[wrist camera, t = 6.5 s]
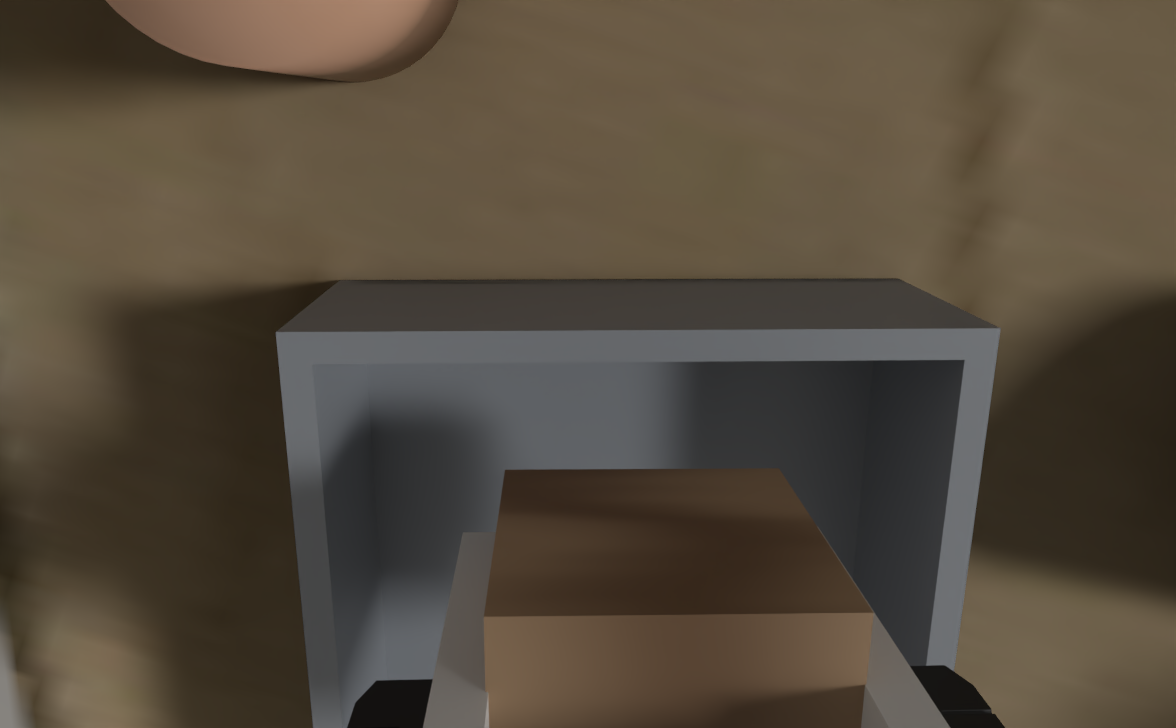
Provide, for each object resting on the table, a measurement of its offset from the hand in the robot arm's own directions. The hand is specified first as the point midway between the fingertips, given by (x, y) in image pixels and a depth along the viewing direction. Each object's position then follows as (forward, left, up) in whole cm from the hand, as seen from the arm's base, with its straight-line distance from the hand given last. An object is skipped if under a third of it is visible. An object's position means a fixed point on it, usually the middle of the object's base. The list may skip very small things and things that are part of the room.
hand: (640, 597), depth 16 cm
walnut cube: (0, 0, 0) cm, 0 cm away
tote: (+4, 0, -6) cm, 7 cm away
